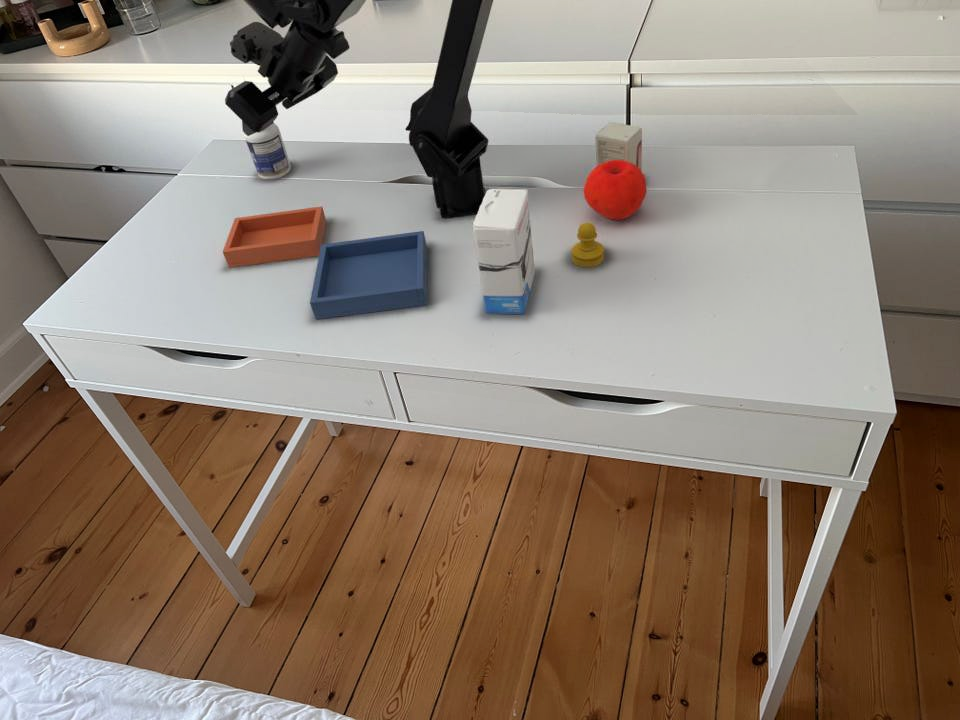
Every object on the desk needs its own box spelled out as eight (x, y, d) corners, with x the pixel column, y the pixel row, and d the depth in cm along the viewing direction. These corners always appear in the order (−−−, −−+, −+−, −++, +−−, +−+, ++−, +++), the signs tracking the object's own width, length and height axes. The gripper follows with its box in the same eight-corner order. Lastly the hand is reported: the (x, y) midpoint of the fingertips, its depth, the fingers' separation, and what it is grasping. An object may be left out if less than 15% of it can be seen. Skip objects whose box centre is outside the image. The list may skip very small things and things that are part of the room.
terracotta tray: (326, 221, 110) (322, 206, 108) (320, 255, 104) (315, 239, 102) (240, 233, 111) (234, 218, 109) (229, 267, 104) (222, 251, 102)
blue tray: (427, 247, 102) (423, 230, 100) (426, 305, 92) (423, 287, 91) (326, 260, 102) (320, 244, 101) (315, 319, 93) (309, 302, 91)
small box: (642, 179, 108) (643, 126, 102) (628, 194, 105) (628, 140, 100) (610, 172, 110) (610, 120, 105) (595, 186, 108) (594, 134, 103)
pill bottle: (260, 166, 126) (240, 110, 119) (293, 161, 126) (275, 104, 119) (256, 182, 122) (235, 124, 115) (289, 177, 122) (270, 119, 115)
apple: (581, 230, 100) (578, 180, 95) (588, 198, 106) (587, 149, 101) (643, 232, 98) (644, 180, 93) (648, 199, 104) (649, 149, 99)
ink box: (525, 315, 89) (516, 228, 81) (483, 314, 90) (470, 228, 82) (536, 272, 95) (528, 186, 87) (497, 271, 96) (485, 187, 88)
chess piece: (606, 250, 96) (606, 215, 93) (600, 268, 93) (599, 233, 90) (575, 248, 97) (574, 213, 94) (568, 266, 95) (566, 231, 91)
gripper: (300, -17, 109) (265, 55, 121) (210, 31, 98) (181, 106, 110) (357, 43, 111) (317, 108, 123) (276, 97, 100) (240, 163, 112)
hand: (265, 119), depth 117 cm, fingers open, 9 cm apart
